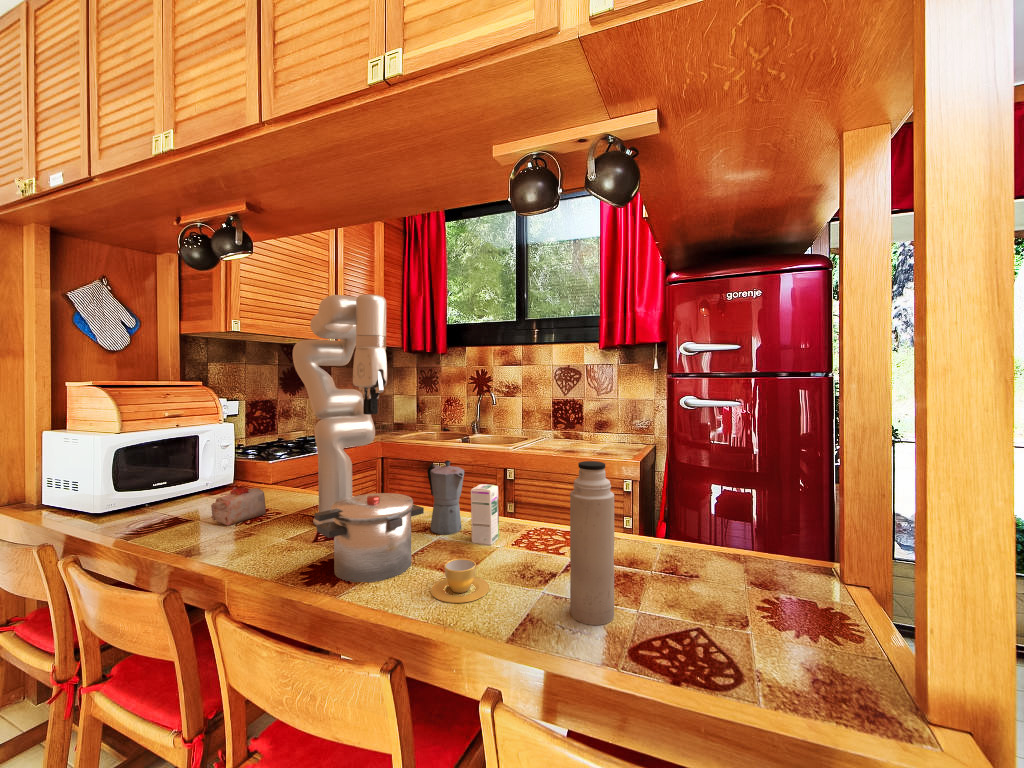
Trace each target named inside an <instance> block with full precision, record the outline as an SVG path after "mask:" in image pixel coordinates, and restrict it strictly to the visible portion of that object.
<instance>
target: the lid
mask: <svg viewBox="0 0 1024 768" xmlns="http://www.w3.org/2000/svg"><path fill="white" fill-rule="evenodd" d="M413 504H414V500H413V498H412V497H411V496H409V495H406V494H401V493H393V492H391V493H389V492H387V493H386V492H380V493H368V494H367V493H365V494H359V495H355V496H354V495H352V497H349V498H345V499H342V500H340V501H337V502H336V503H334V504H333V505H332V507H331V510H328V511H323V512H319V511H318V512H314V518H315V519H316V520H318V521H324V520H328V519H332V518H335V519H337V520H341V521H346V522H375V521H383V520H388V519H393V518H397V517H400V516H403V515H405V514H407V513H409V512H411V511H412V510H413Z"/></svg>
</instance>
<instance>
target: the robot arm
mask: <svg viewBox="0 0 1024 768" xmlns="http://www.w3.org/2000/svg"><path fill="white" fill-rule="evenodd" d="M309 326H310V329H311V331H312V333H313V334H314V335H315V336H316V337H318V338H321V339H315V338H314V339H303V340H300V341H298V342H296V343H295V344H294V346H293V349H292V360H293V361H292V362H293V365H294V369H295V371H296V373H297V375H298V377H299V378H300V379H301V381H302V383H303V384H304V386H305V389H306V392H307V396H308V400H309V403H310V406H311V408H312V411H313V414H314V416H315V417H316V418H318V422H316V424H315V426H314V430H313V431H314V438H315V445H316V450H317V466H318V470H317V471H318V472H317V473H318V477H317V478H318V507H317V509H318V513H319V512H323V511H328V510H331V507H332V505H333V504H334V503H336V502H337V501H340V500H342V499H345V498H349V497H353V463H352V459H351V457H350V456H349V454H347V453H346V451H345V450H344V448H352V447H362V446H366V445H369V444H371V443H373V441H374V440H375V437H376V428H375V424H374V420H373V417H372V415H378V413H379V410H378V407H379V404H378V403H379V398H380V394H381V393H383V392H384V390H385V389H384V387H386V386H387V384H388V361H387V359H388V358H387V352H386V350H387V300H386V298H385V297H384V296H382V295H379V294H359V295H358V296H353V295H344V294H343V295H341V294H332V295H329V296H326V297H324V298H322V300H321V301H320V303H319V306H318V311H317V313H316V314H315V315H313V317H312V318H311V320H310V323H309ZM354 350H355V351H354ZM353 354H354V357H353ZM352 357H353V366H352V367H353V368H352V384H353V386H355V387H358V390H357V389H354V388H342V389H341V388H338V387H336V383H335V381H334V379H333V377H332V376H331V375H330V374H329V373H328V372H327V371H326V370H324V369H323V368H321V367H320V366H325V367H329V366H332V367H334V366H335V367H342V366H346V365H348V364H349V363H350V361H351V359H352ZM332 521H334V518H332V519H328V520H324V521H318V520H316V519H315V517H314V518H313V521H312V522H313V525H315V526H316V527H317V525H319V524H323V523H327V522H332Z"/></svg>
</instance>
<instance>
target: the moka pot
mask: <svg viewBox="0 0 1024 768" xmlns="http://www.w3.org/2000/svg"><path fill="white" fill-rule="evenodd" d="M426 471H427V478H428V483H429V487H430V488H429V489H430V494H431V496H432V497H433V507H432V514H431V520H430V528H429V529H430V531H431V532H432V533H435V534H437V535H453V534H456V533H459V532H460V531H461V530H462V520H461V518H462V517H461V512H460V510H461V509H460V503H459V502H460V497H461V495H462V492H463V491H462V490H463V484H464V483H463V482H464V478H465V477H464V476H465V469H463V468H462V467H459V466H455V465H454V466H452V465H451V460H444V465H442V466H440V465H438V464H434V463H430V465H429V467H428V468H427V470H426Z"/></svg>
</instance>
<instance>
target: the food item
mask: <svg viewBox="0 0 1024 768" xmlns="http://www.w3.org/2000/svg"><path fill="white" fill-rule="evenodd" d="M210 506H211V507H210V508H211V519H212V520H213V521H216V522H217V523H220V524H221V525H224V526H228V527H229V526H233V525H235V524H238V523H241V522H244V521H247V520H251V519H254V518H257V517H260V516H263V515H265V514H267V510H266V497H265V492H264V490H262V489H260V488H254V487H253V488H250V489H248V488H245V487H241V488H240V487H239V488H237V487H235V486H234V487H233V488H232V490H230V493H229V494H226V495H223V496H221V497H217V498H216V499H215V502H212V504H211V505H210Z"/></svg>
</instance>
